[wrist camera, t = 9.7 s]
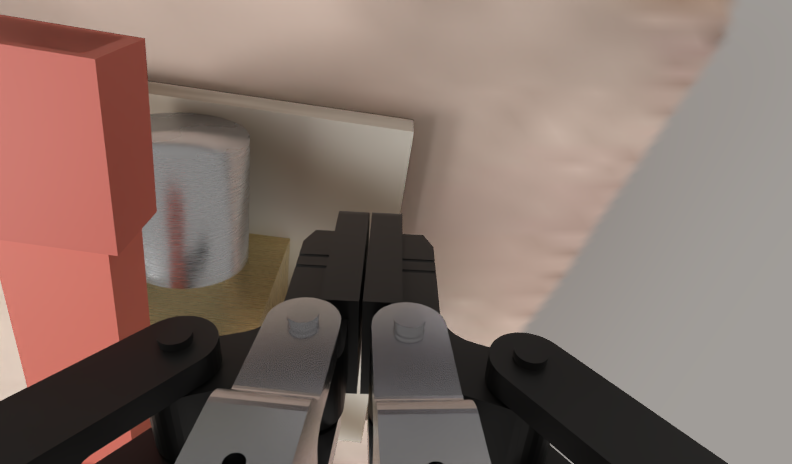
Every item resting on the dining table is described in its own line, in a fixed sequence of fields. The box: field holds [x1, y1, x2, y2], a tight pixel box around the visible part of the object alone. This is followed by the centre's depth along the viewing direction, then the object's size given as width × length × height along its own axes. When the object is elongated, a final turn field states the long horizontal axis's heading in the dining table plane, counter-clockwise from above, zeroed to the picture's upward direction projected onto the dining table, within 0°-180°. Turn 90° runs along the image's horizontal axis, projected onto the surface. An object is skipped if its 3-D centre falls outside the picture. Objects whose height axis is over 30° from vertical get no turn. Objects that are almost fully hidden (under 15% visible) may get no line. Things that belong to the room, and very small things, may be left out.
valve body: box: [142, 113, 290, 336], centre depth 21 cm, size 17×7×7 cm, turn 172°
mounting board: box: [148, 81, 414, 443], centre depth 25 cm, size 18×16×2 cm
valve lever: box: [0, 15, 157, 464], centre depth 14 cm, size 15×4×3 cm, turn 171°
